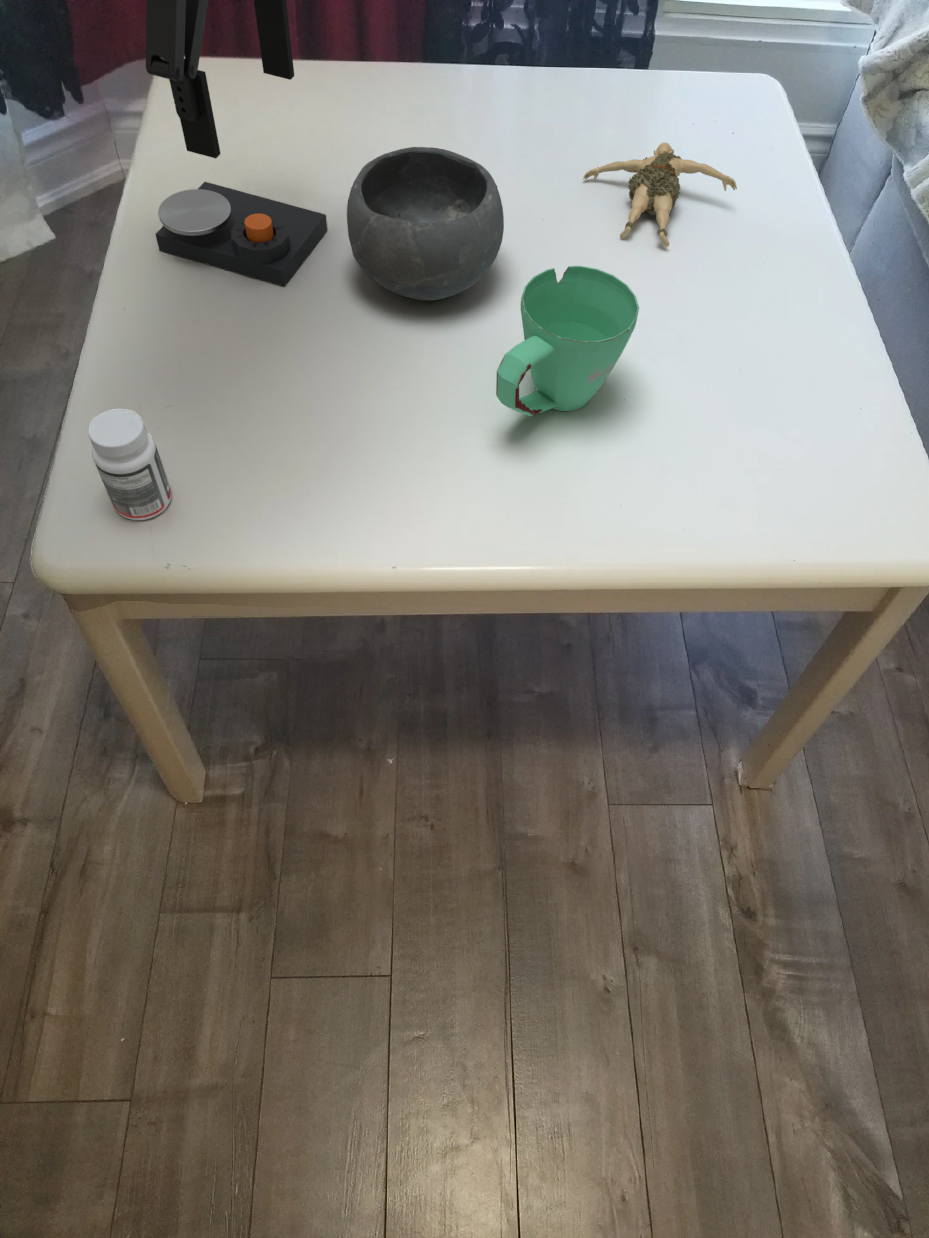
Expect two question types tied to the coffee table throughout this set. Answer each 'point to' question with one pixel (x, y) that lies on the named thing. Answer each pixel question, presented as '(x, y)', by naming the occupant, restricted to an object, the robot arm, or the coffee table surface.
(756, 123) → the coffee table surface
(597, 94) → the coffee table surface
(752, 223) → the coffee table surface
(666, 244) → the figurine
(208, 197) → the scale pan
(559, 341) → the mug
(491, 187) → the bowl
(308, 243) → the scale
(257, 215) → the button
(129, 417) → the pill bottle
